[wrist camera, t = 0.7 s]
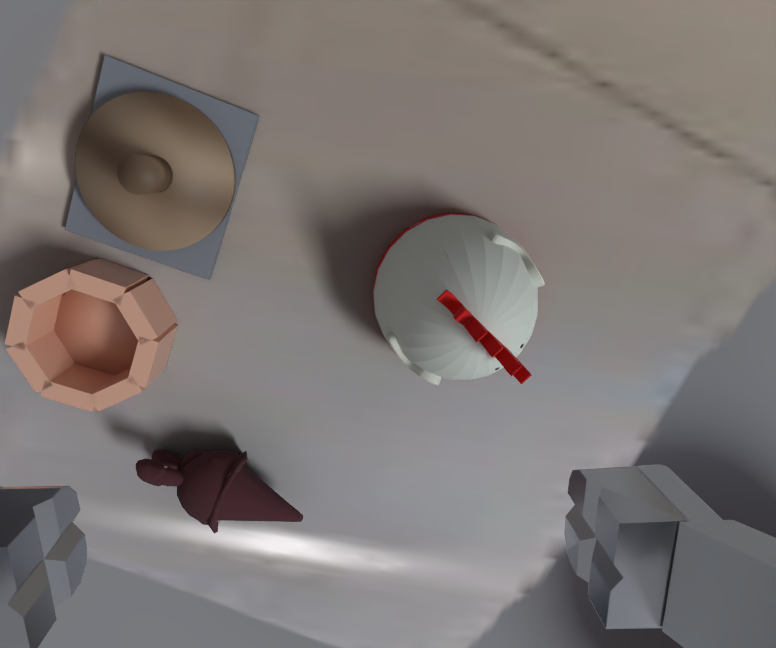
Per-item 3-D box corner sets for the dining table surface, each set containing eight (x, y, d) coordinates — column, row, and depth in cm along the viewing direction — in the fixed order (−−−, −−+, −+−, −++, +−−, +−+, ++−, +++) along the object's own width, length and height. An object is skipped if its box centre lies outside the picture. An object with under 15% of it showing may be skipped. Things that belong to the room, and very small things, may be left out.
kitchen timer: (448, 394, 52) (482, 483, 38) (340, 294, 49) (333, 349, 35) (560, 289, 50) (642, 341, 36) (454, 178, 47) (497, 184, 32)
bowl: (58, 244, 46) (23, 253, 42) (188, 288, 48) (170, 302, 43) (31, 361, 49) (-4, 382, 44) (156, 400, 51) (135, 425, 46)
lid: (101, 68, 42) (70, 56, 38) (254, 128, 44) (242, 124, 40) (67, 218, 45) (34, 224, 41) (212, 269, 47) (196, 280, 42)
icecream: (316, 493, 47) (146, 426, 46) (282, 575, 47) (111, 510, 46) (320, 470, 54) (173, 412, 53) (290, 541, 54) (142, 485, 53)
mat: (108, 56, 43) (104, 55, 42) (259, 116, 45) (258, 115, 44) (68, 229, 46) (64, 229, 46) (210, 278, 48) (208, 279, 47)
